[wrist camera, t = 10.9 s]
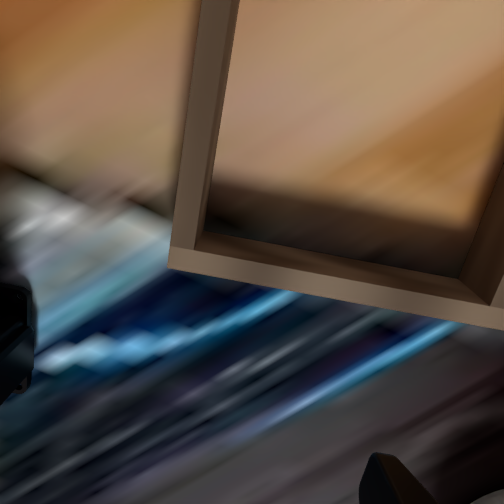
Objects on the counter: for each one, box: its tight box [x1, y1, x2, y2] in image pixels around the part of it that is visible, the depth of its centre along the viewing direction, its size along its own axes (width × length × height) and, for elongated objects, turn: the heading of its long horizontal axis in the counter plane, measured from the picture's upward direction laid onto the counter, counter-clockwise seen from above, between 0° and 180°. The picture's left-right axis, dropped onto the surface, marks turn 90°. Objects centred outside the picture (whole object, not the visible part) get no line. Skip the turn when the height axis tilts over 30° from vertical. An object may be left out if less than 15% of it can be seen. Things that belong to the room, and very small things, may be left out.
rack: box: [167, 0, 504, 330], centre depth 17 cm, size 20×13×3 cm, turn 79°
